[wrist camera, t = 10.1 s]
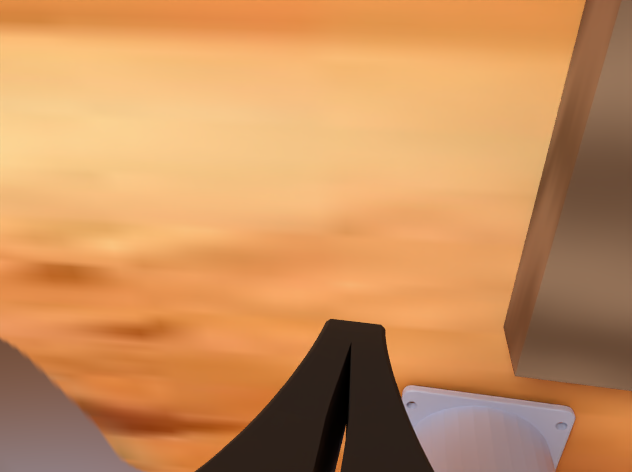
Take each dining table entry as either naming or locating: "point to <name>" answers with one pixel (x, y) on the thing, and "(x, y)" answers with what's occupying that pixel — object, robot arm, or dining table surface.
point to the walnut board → (582, 221)
